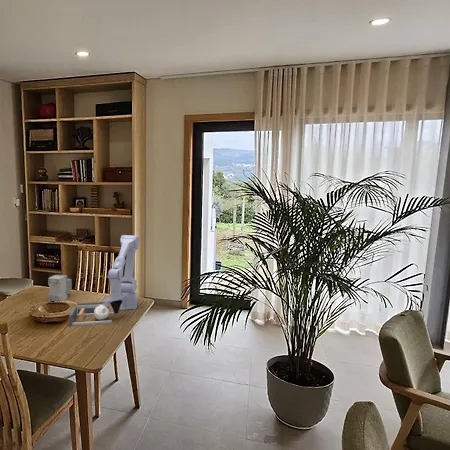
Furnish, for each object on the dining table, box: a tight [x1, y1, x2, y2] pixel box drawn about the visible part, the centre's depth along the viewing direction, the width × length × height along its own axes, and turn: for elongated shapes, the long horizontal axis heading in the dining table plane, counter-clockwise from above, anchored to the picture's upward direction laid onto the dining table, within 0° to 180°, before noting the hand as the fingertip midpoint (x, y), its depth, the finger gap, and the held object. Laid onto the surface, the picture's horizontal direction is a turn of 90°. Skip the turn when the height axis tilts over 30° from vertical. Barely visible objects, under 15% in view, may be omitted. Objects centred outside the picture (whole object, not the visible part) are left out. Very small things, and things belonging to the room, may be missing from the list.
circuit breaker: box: [47, 274, 73, 302], centre depth 203 cm, size 8×14×15 cm, turn 174°
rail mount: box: [68, 301, 115, 327], centre depth 176 cm, size 21×16×6 cm
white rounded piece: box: [93, 305, 110, 321], centre depth 175 cm, size 8×8×8 cm
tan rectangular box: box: [78, 308, 86, 322], centre depth 173 cm, size 2×8×5 cm, turn 14°
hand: (116, 313), depth 177 cm, fingers closed
